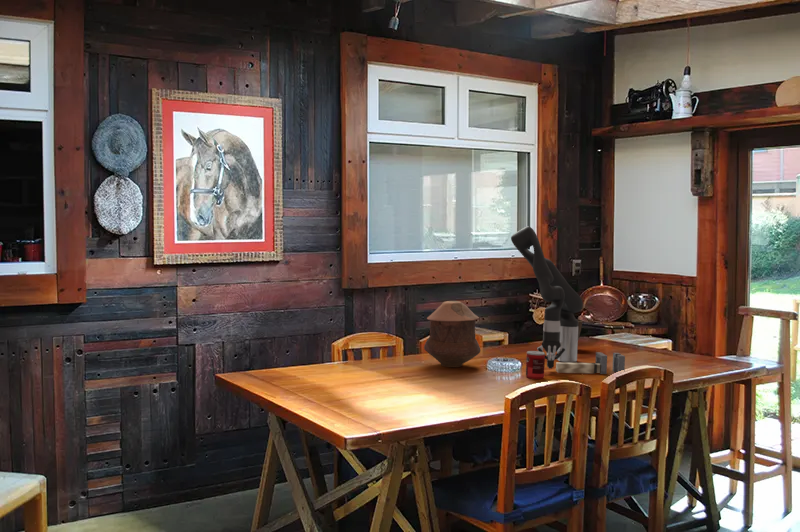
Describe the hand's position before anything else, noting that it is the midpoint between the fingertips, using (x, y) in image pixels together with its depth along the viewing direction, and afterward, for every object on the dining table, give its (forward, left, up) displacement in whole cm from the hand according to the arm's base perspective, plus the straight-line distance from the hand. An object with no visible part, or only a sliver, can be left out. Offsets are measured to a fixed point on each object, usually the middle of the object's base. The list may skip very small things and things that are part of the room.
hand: (550, 368), depth 350 cm
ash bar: (+13, 0, -2) cm, 13 cm away
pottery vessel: (-44, +8, -2) cm, 45 cm away
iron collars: (+27, 0, -2) cm, 27 cm away
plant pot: (+24, +67, -2) cm, 71 cm away
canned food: (-10, -15, -2) cm, 18 cm away
